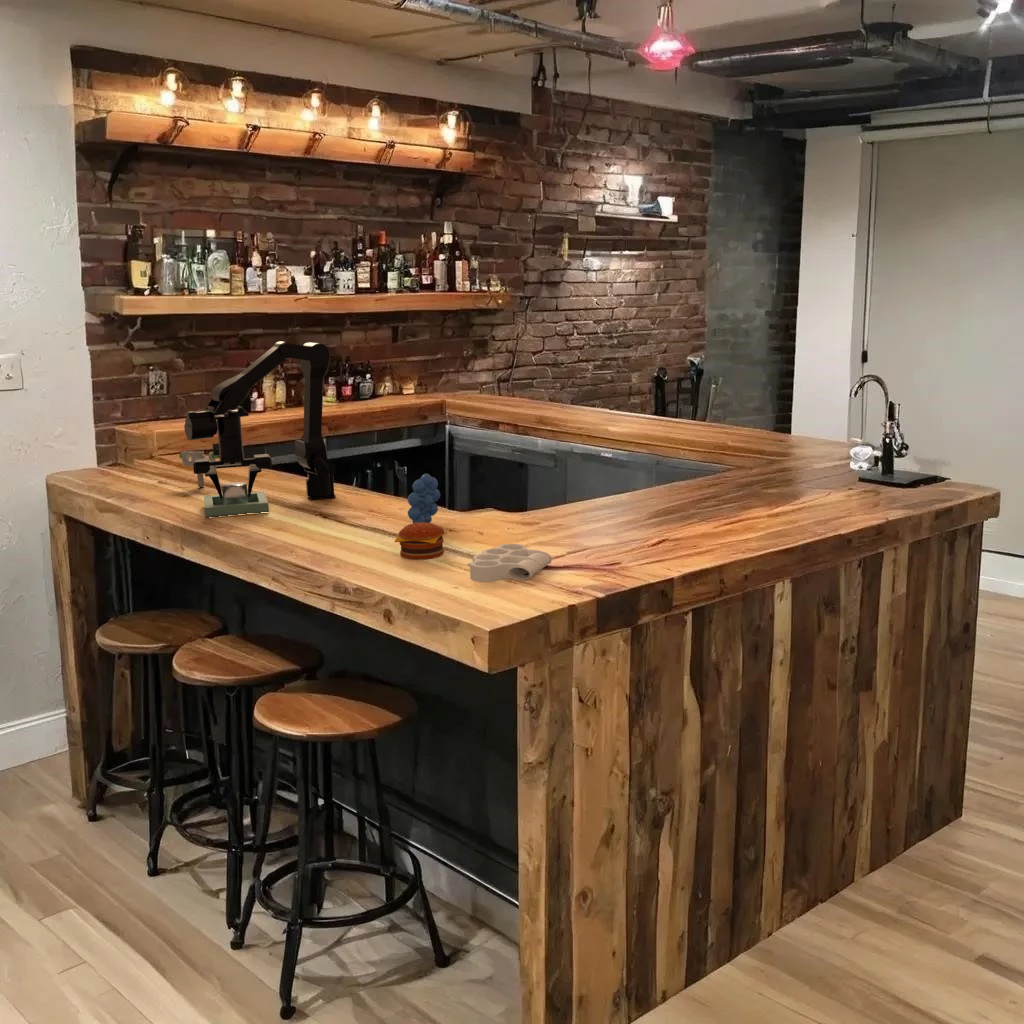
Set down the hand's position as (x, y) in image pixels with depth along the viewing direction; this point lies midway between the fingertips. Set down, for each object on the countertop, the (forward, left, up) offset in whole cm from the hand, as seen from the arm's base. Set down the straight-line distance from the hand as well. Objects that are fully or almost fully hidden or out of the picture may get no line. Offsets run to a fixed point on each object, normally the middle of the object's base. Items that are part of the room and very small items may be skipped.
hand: (235, 497), depth 281 cm
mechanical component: (+8, -33, -3) cm, 34 cm away
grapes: (-40, +35, -3) cm, 53 cm away
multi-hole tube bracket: (-48, +78, -4) cm, 92 cm away
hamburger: (-35, +60, -3) cm, 69 cm away
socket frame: (0, 0, -3) cm, 3 cm away
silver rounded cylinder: (0, 0, -2) cm, 2 cm away
